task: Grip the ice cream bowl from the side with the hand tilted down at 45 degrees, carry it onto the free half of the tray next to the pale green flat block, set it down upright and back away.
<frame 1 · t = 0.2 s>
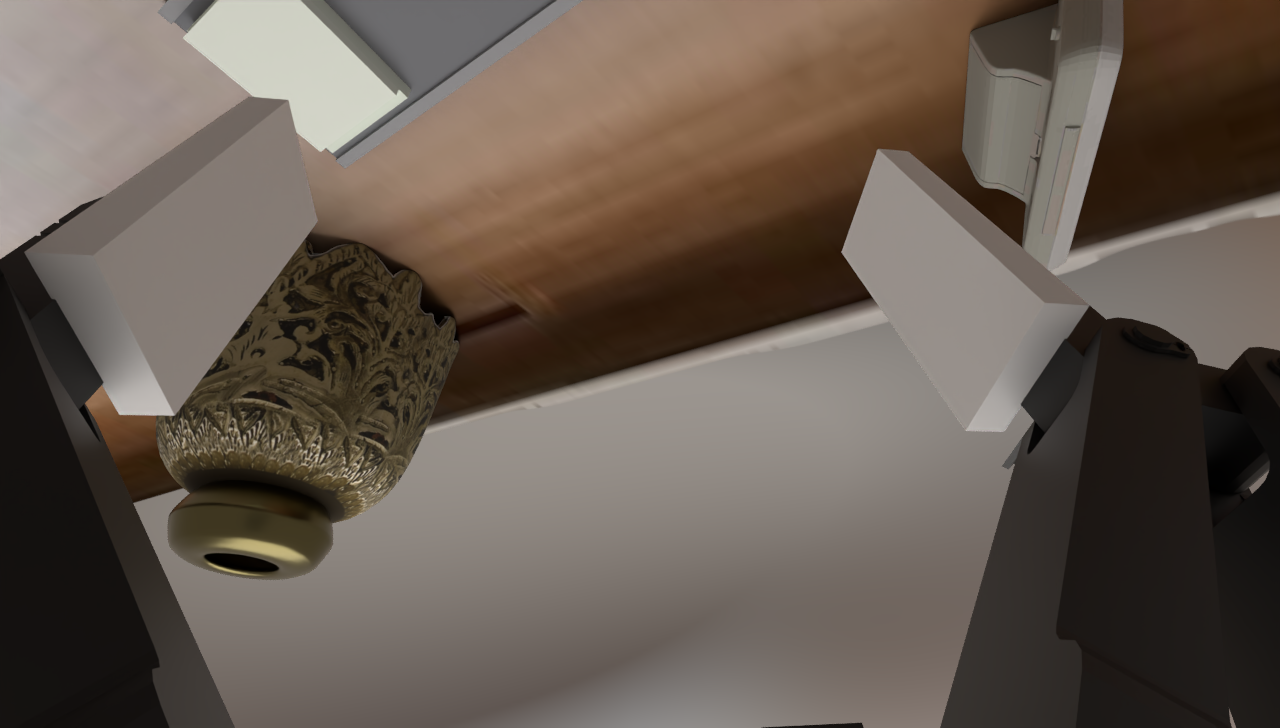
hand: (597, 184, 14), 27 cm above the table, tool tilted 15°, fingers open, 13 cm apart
lamp shade: (342, 315, 61), on the table
pale green flat block: (311, 51, 39), resting on tray
digital clock: (1033, 72, 40), on the table
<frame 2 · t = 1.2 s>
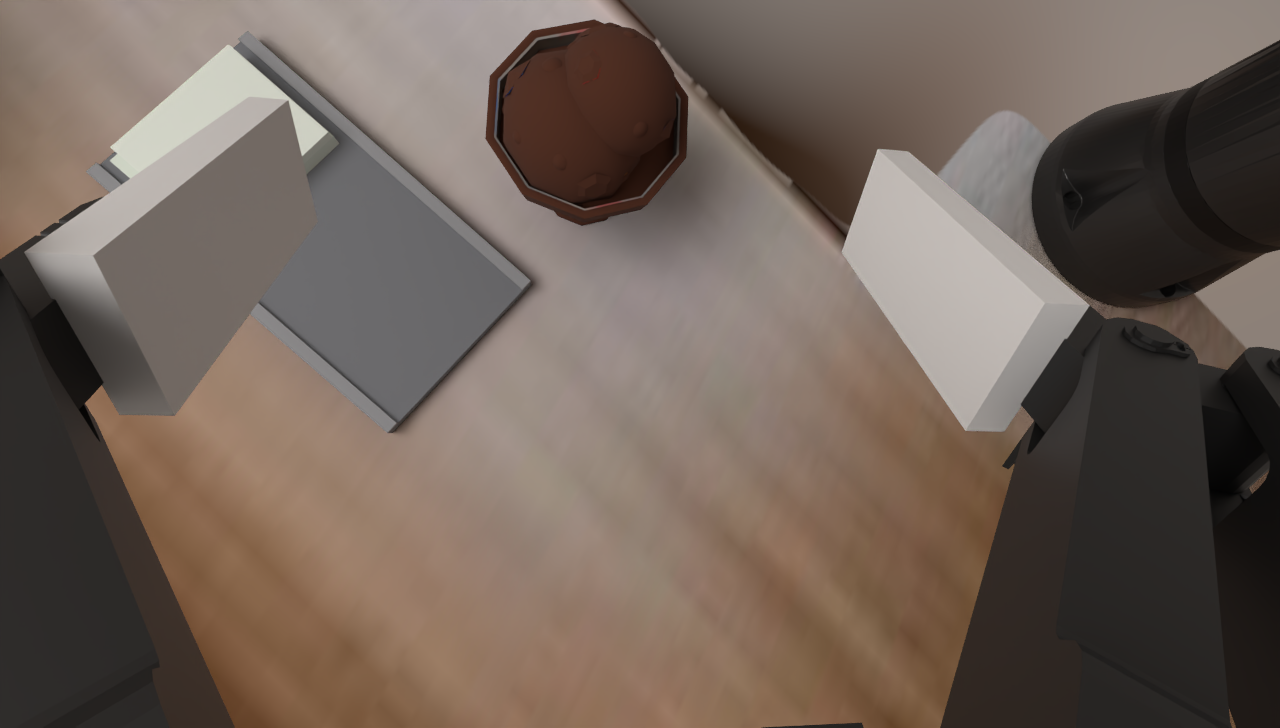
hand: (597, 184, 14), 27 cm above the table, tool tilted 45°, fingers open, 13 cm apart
ice cream bowl: (583, 187, 42), on the table
tray: (322, 233, 39), on the table
pale green flat block: (239, 160, 39), resting on tray
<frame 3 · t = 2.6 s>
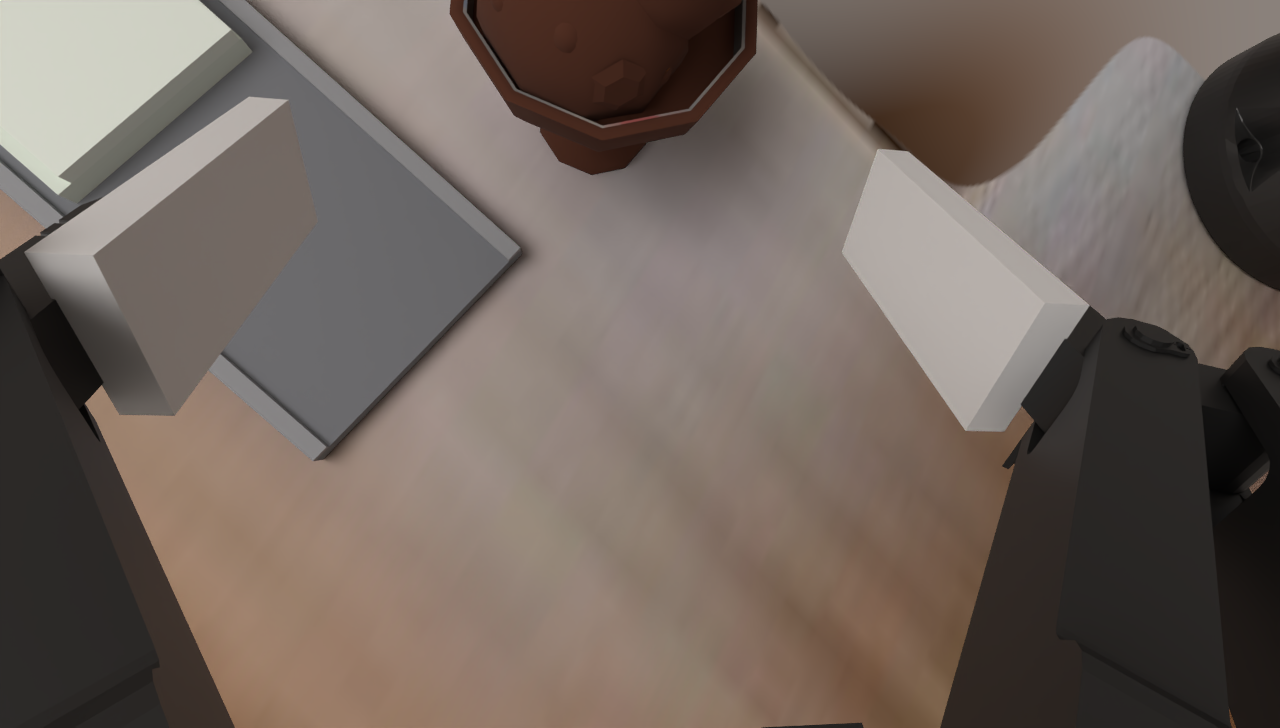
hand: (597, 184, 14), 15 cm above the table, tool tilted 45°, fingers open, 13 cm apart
ice cream bowl: (594, 123, 31), on the table
tray: (228, 178, 28), on the table
pale green flat block: (111, 74, 28), resting on tray
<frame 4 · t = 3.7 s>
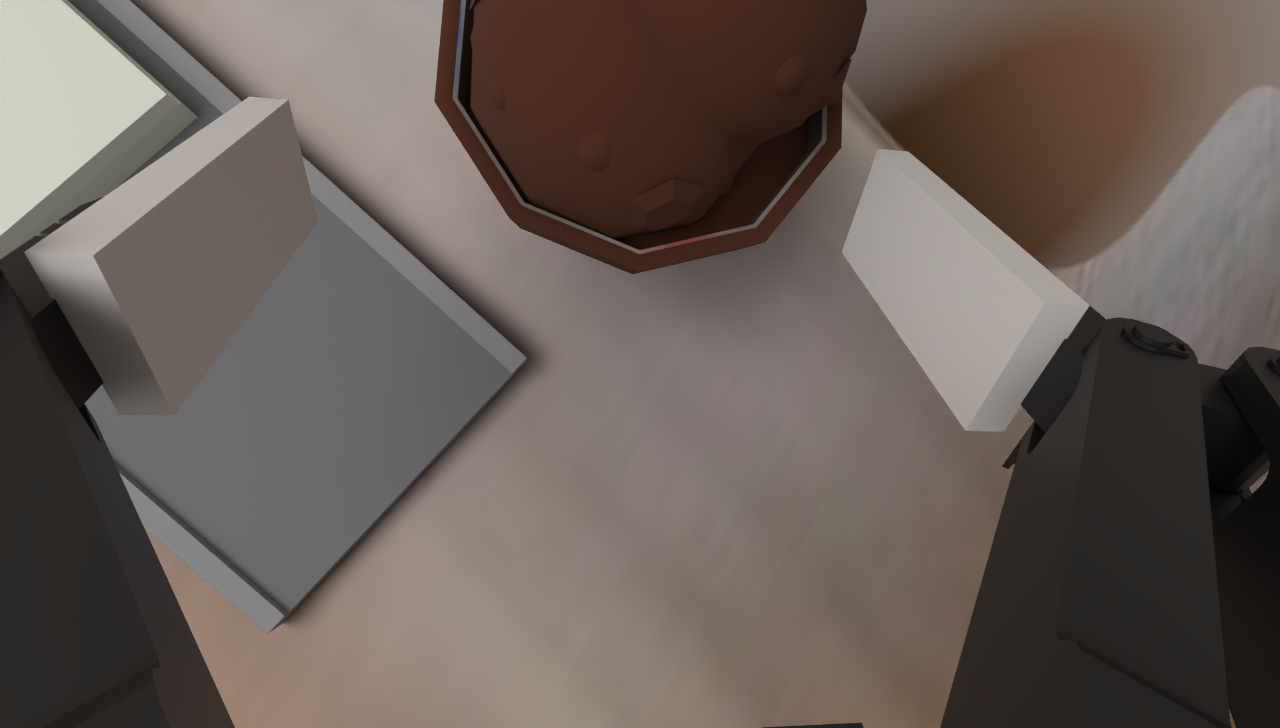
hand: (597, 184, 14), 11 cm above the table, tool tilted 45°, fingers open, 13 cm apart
ice cream bowl: (616, 197, 25), on the table
tray: (168, 272, 23), on the table
pale green flat block: (23, 144, 22), resting on tray
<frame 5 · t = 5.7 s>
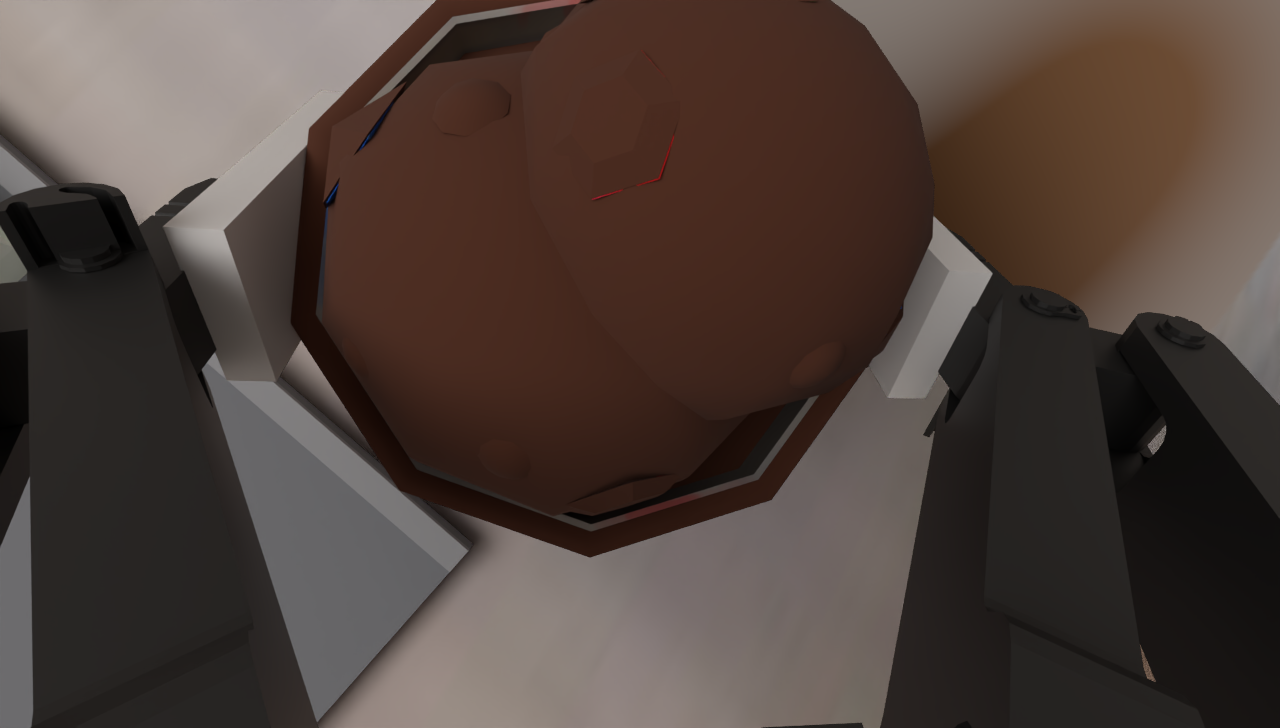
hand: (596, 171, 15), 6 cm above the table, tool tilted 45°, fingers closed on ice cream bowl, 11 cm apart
ice cream bowl: (582, 330, 21), on the table, touching gripper
tray: (11, 451, 18), on the table
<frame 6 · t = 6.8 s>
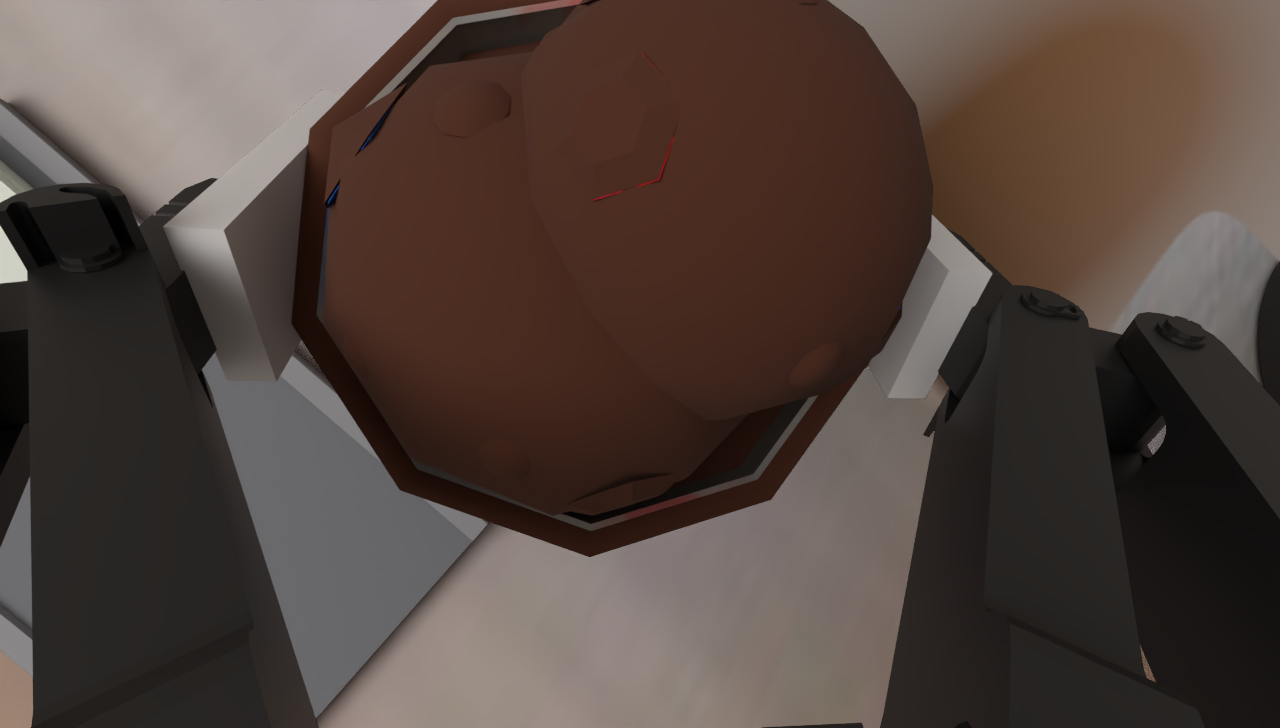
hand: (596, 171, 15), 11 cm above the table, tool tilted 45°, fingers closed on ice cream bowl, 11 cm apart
ice cream bowl: (582, 330, 21), point 4 cm above the table, touching gripper
tray: (117, 445, 22), on the table
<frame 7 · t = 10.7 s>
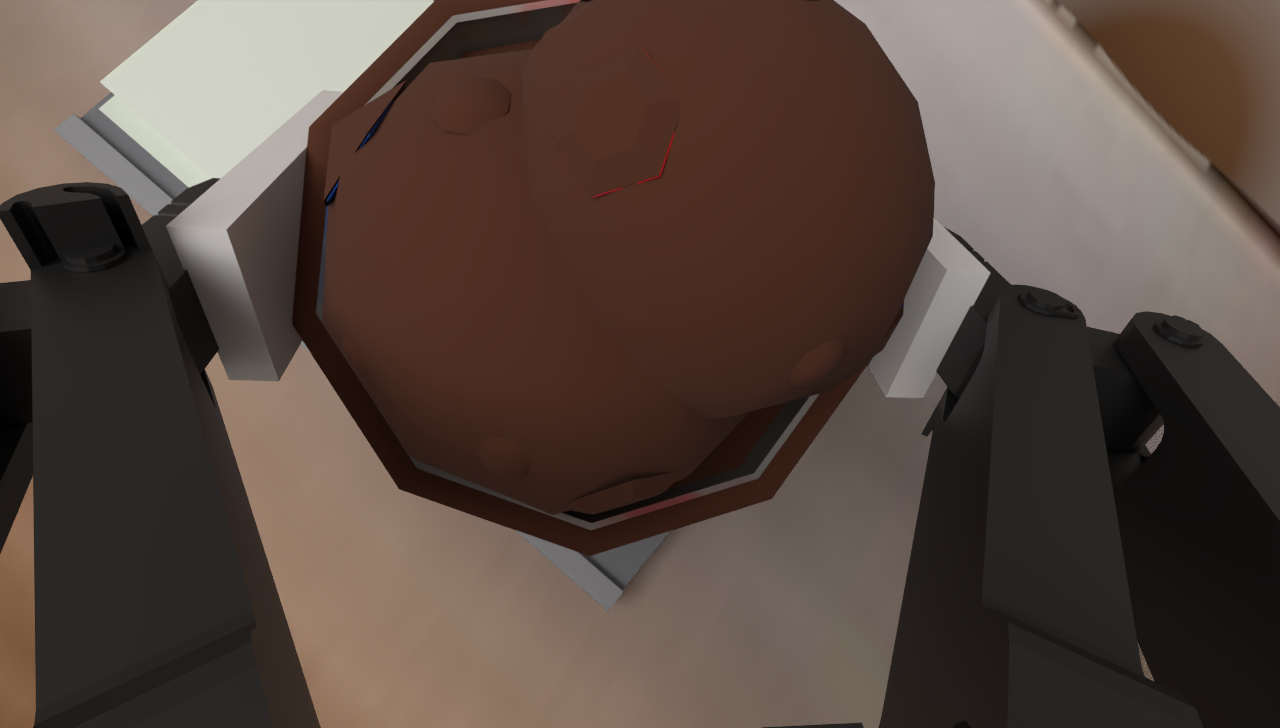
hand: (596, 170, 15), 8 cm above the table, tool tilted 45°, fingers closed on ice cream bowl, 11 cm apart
ice cream bowl: (582, 329, 21), point 2 cm above the table, touching gripper
tray: (477, 245, 22), on the table
pale green flat block: (331, 116, 22), resting on tray
when the fingers open (8 cm above the table, at t = 11.2 s): ice cream bowl drops 1 cm, resting on tray.
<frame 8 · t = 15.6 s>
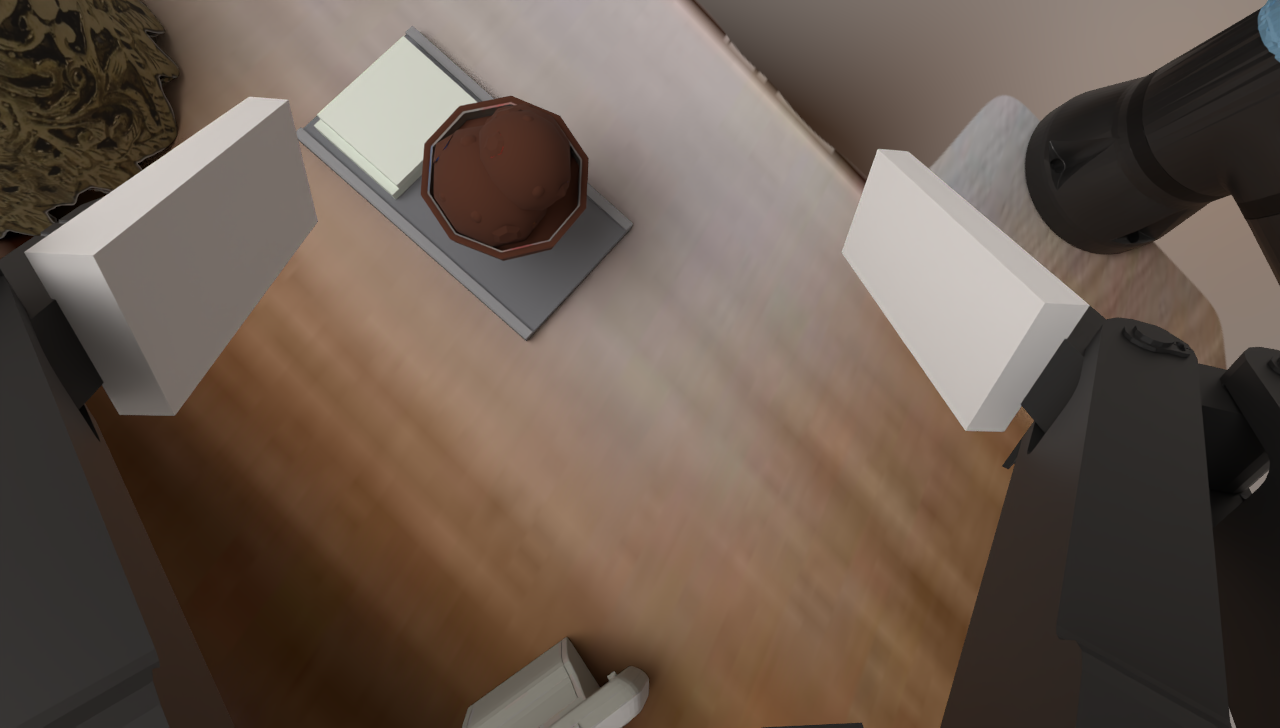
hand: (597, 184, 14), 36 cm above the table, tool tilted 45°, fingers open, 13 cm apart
ice cream bowl: (516, 224, 49), point 1 cm above the table, touching tray
tray: (470, 185, 50), on the table
lamp shade: (17, 94, 46), on the table
pale green flat block: (405, 127, 49), resting on tray
digital clock: (547, 715, 47), on the table
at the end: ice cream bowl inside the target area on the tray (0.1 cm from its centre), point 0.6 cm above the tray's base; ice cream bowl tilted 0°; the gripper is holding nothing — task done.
